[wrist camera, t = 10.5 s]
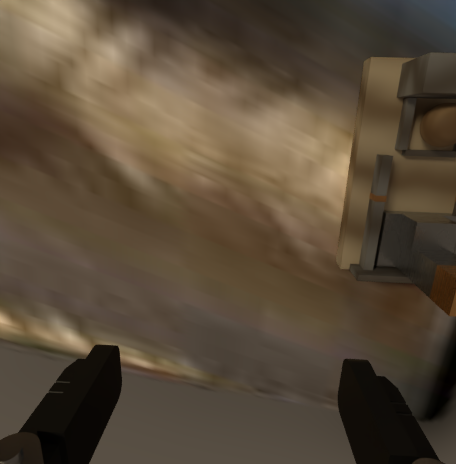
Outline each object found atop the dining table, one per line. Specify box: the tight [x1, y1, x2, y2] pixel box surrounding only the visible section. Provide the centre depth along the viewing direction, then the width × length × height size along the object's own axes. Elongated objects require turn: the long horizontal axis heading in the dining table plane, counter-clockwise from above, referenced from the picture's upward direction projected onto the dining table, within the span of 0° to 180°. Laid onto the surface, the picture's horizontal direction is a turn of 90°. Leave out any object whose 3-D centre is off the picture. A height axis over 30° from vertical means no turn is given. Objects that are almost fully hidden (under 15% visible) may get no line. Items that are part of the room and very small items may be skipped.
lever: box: [374, 211, 456, 316], centre depth 31 cm, size 6×7×11 cm
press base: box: [336, 53, 456, 283], centre depth 33 cm, size 22×14×7 cm, turn 178°
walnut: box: [420, 103, 456, 147], centre depth 31 cm, size 4×4×4 cm
